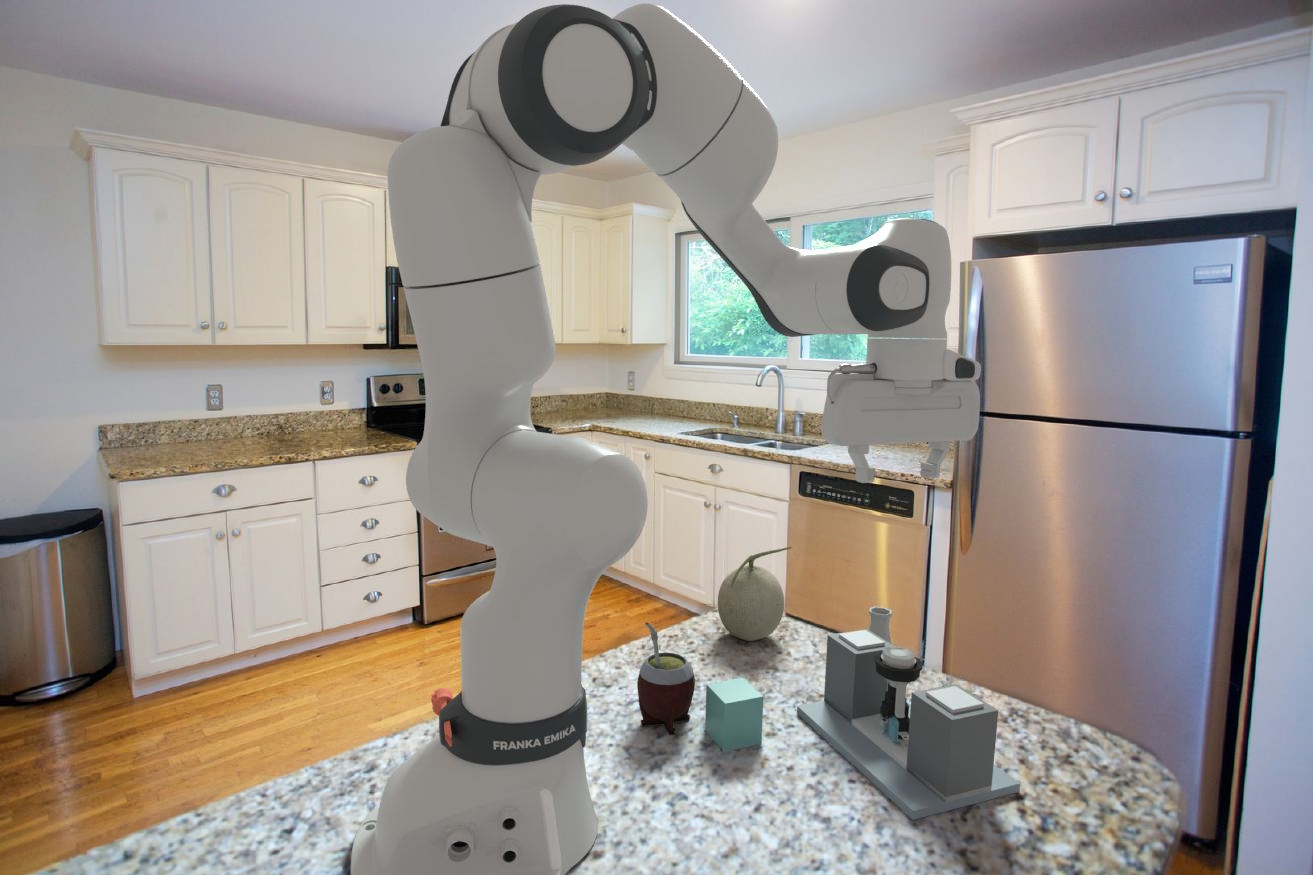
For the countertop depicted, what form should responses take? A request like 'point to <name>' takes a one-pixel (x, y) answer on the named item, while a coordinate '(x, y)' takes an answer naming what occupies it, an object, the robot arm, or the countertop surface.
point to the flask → (880, 622)
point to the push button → (896, 690)
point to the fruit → (751, 600)
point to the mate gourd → (665, 688)
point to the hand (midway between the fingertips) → (897, 479)
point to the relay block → (734, 714)
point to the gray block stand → (940, 733)
